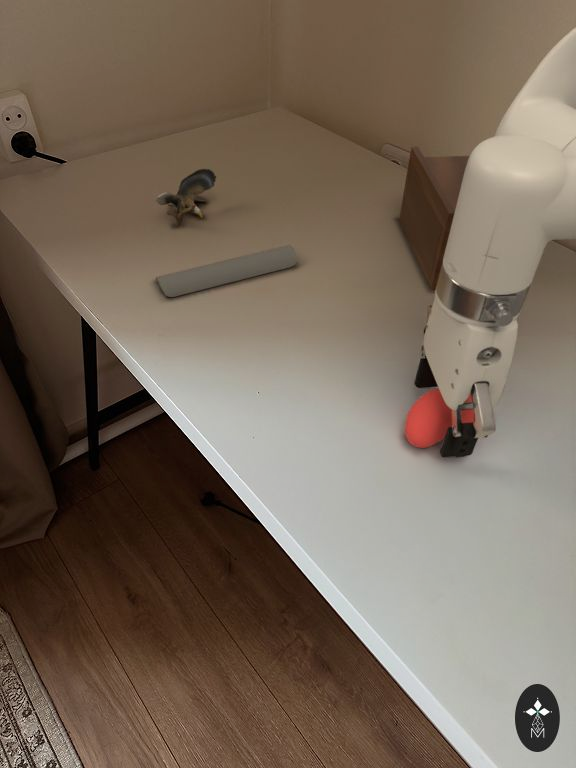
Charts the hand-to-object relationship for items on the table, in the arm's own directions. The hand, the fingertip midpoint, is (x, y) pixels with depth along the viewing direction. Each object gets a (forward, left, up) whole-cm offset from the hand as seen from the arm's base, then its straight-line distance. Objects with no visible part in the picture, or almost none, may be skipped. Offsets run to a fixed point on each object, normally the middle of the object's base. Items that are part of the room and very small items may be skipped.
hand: (441, 418), depth 67 cm
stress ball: (0, 0, -2) cm, 2 cm away
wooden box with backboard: (-12, -33, -2) cm, 35 cm away
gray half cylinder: (+21, -30, -2) cm, 37 cm away
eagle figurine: (+26, -46, -2) cm, 53 cm away
